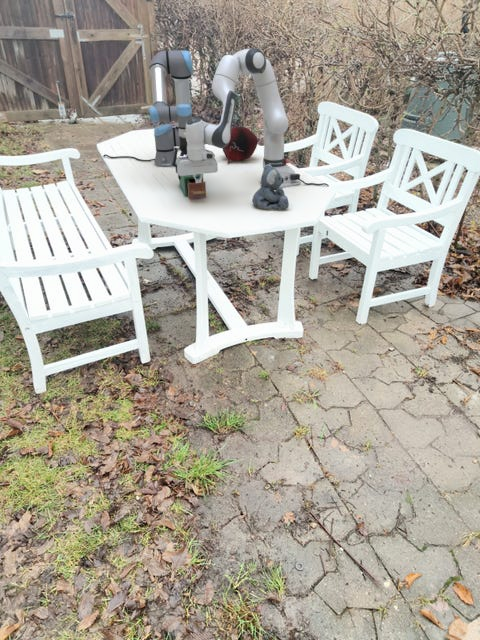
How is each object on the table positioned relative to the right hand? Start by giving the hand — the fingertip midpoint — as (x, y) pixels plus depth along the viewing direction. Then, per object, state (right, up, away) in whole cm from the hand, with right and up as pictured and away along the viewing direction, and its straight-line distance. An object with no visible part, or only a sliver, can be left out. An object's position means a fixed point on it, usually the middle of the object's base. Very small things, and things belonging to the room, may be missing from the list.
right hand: (198, 182), depth 228 cm
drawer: (-3, -3, +13) cm, 13 cm away
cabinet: (-6, +3, +23) cm, 24 cm away
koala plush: (+36, -11, +2) cm, 38 cm away
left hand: (-8, +10, +25) cm, 28 cm away
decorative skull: (+20, +38, +74) cm, 86 cm away
